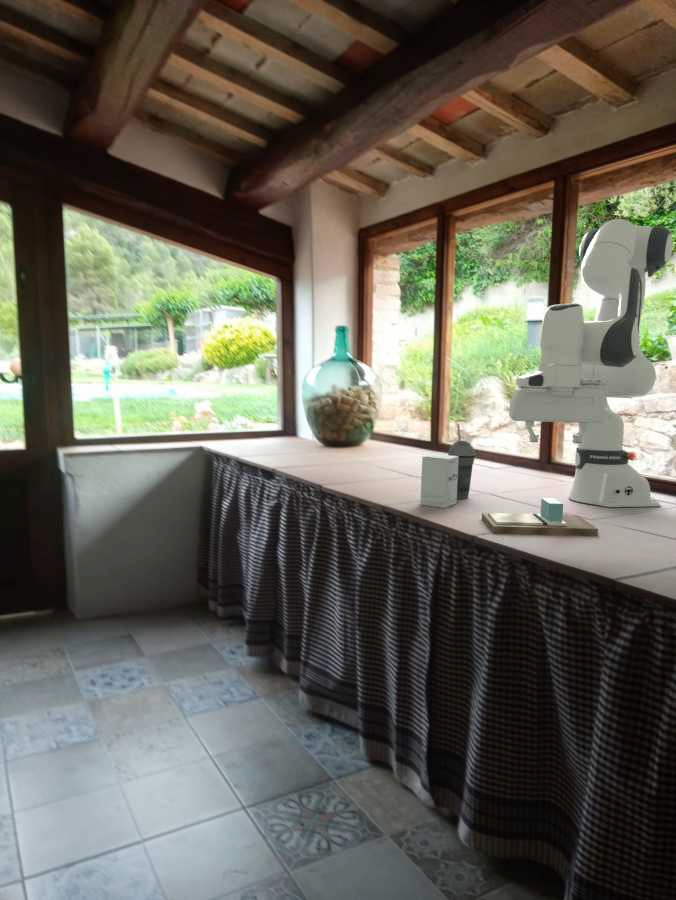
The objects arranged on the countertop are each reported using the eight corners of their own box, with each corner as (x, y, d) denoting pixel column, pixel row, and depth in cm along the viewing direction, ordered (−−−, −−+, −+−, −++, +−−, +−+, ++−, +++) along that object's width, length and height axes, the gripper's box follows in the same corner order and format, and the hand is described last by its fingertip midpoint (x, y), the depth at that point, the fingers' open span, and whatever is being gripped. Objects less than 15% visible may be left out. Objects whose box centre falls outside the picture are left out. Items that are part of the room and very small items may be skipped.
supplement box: (446, 508, 161) (448, 458, 160) (419, 505, 165) (421, 456, 164) (457, 503, 167) (459, 455, 166) (431, 500, 171) (432, 453, 170)
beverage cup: (473, 500, 172) (476, 426, 169) (445, 499, 173) (448, 425, 171) (473, 495, 179) (476, 423, 176) (446, 494, 180) (449, 422, 178)
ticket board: (576, 521, 150) (577, 512, 149) (597, 535, 137) (598, 526, 136) (481, 519, 150) (482, 510, 150) (493, 533, 137) (493, 523, 137)
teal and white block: (553, 516, 148) (555, 497, 147) (566, 525, 139) (567, 505, 138) (536, 515, 148) (537, 496, 147) (547, 525, 139) (549, 504, 138)
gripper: (602, 380, 142) (597, 442, 144) (509, 378, 143) (505, 440, 144) (613, 380, 136) (608, 445, 138) (516, 378, 136) (512, 443, 138)
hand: (555, 442), depth 141 cm, fingers open, 8 cm apart
